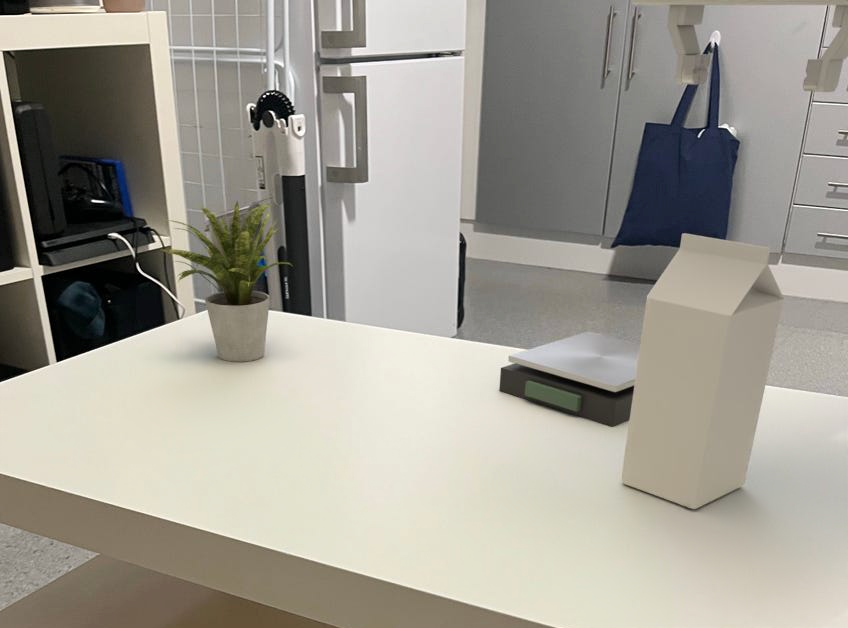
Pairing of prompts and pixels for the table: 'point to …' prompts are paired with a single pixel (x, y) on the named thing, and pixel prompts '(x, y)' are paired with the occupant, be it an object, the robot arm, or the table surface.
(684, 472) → the milk carton
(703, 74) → the robot arm
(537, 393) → the scale
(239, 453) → the table surface
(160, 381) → the table surface
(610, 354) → the scale platform
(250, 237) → the house plant
